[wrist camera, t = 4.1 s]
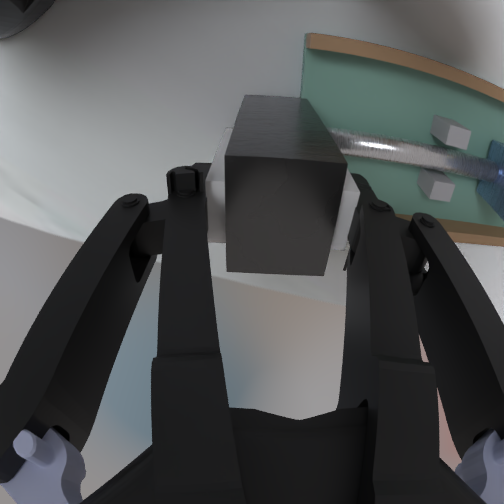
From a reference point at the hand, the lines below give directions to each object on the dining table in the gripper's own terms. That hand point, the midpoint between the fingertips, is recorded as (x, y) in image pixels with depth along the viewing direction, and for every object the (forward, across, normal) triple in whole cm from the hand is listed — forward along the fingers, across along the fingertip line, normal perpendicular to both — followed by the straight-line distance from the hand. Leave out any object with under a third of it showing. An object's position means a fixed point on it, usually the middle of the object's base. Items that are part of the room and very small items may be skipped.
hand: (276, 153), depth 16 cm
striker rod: (+4, +9, 0) cm, 10 cm away
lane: (+6, +16, 0) cm, 17 cm away
